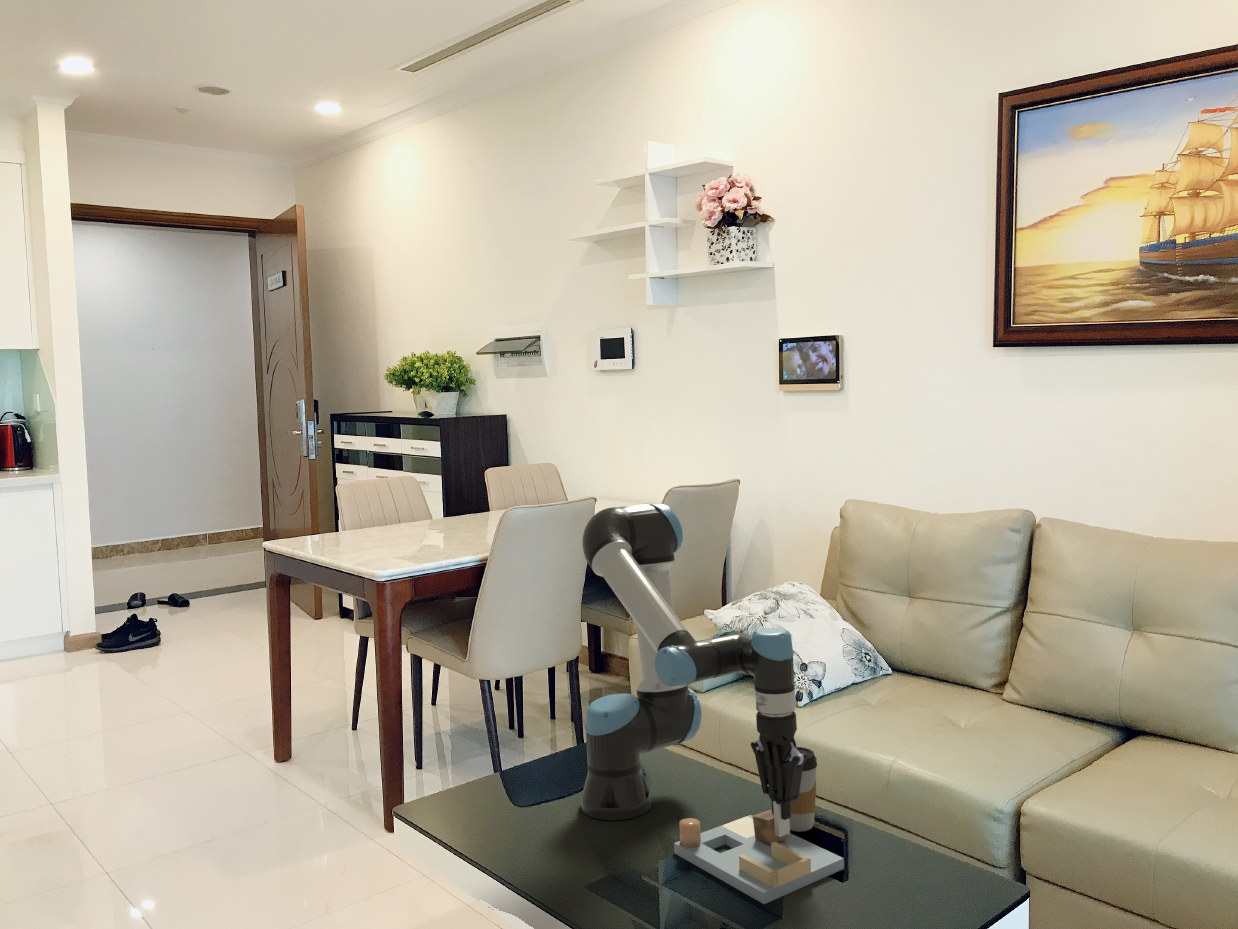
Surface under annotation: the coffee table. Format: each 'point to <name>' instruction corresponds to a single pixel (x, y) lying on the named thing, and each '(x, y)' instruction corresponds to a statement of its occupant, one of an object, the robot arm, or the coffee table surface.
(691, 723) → the robot arm
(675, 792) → the coffee table surface
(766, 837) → the walnut cube
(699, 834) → the beige cylinder
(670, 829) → the coffee table surface
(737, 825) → the board
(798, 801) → the coffee cup
